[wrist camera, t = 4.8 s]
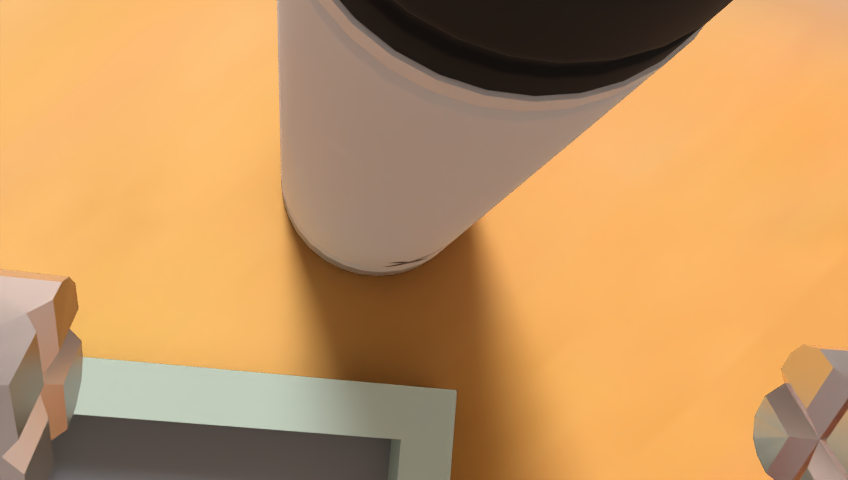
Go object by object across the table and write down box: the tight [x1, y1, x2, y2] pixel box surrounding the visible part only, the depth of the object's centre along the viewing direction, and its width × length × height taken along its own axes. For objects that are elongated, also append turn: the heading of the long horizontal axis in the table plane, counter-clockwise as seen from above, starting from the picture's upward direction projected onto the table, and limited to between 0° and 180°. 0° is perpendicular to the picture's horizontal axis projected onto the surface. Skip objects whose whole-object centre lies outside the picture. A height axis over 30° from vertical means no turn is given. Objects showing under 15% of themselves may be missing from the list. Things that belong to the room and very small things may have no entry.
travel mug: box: [277, 0, 733, 276], centre depth 17 cm, size 6×7×20 cm
